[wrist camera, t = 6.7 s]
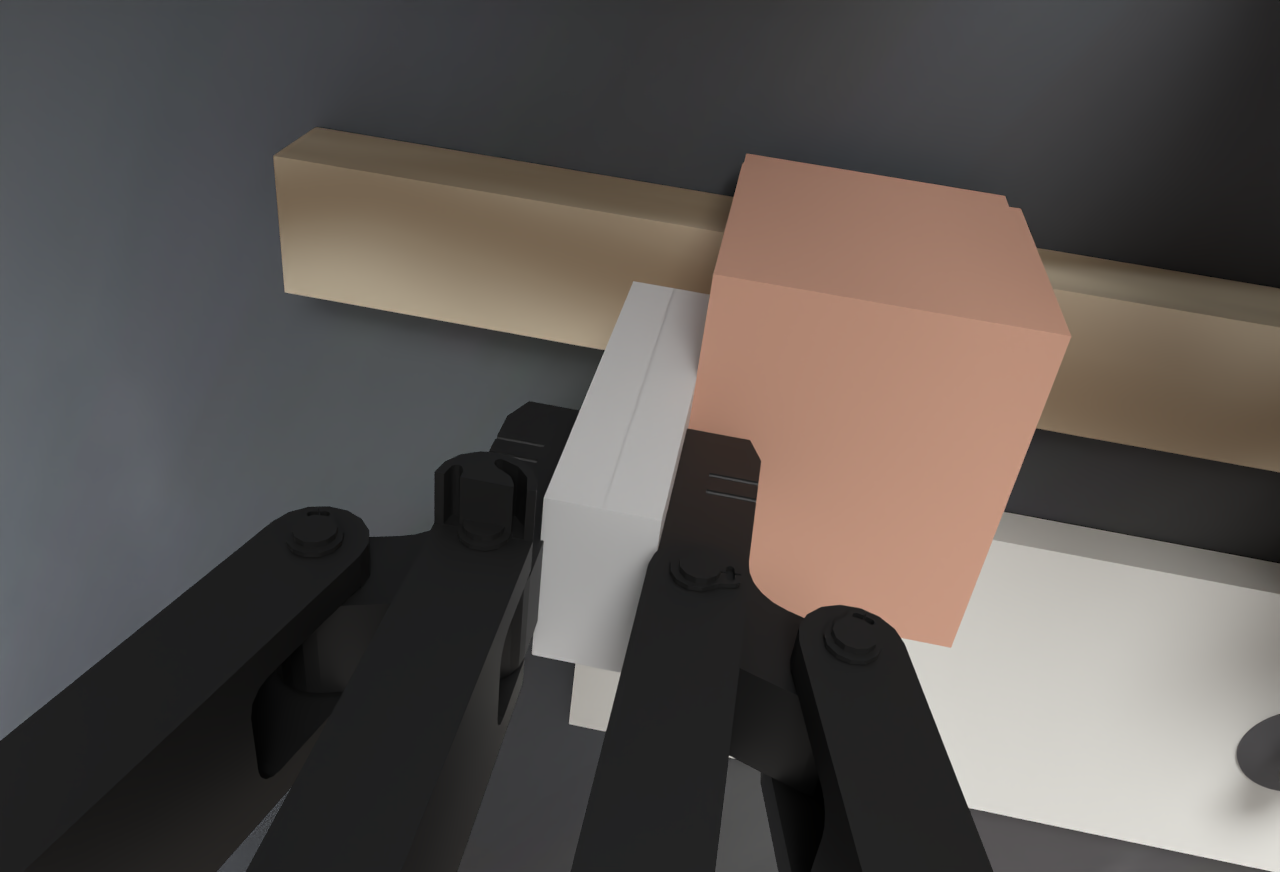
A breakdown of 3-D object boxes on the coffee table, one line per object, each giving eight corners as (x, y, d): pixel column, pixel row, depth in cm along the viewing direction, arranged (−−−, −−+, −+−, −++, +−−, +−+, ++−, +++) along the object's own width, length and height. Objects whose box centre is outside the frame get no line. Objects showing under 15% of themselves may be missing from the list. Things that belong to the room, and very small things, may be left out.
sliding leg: (748, 138, 20) (712, 273, 15) (1010, 180, 20) (1071, 336, 14) (664, 632, 27) (619, 844, 22) (853, 670, 27) (854, 895, 22)
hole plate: (607, 437, 25) (596, 467, 24) (1553, 615, 24) (1587, 655, 23) (578, 692, 30) (568, 726, 29) (1358, 854, 29) (1378, 896, 28)
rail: (311, 54, 21) (105, 165, 16) (1811, 298, 19) (2244, 537, 13) (341, 546, 29) (209, 750, 23) (1431, 764, 27) (1601, 1054, 21)
